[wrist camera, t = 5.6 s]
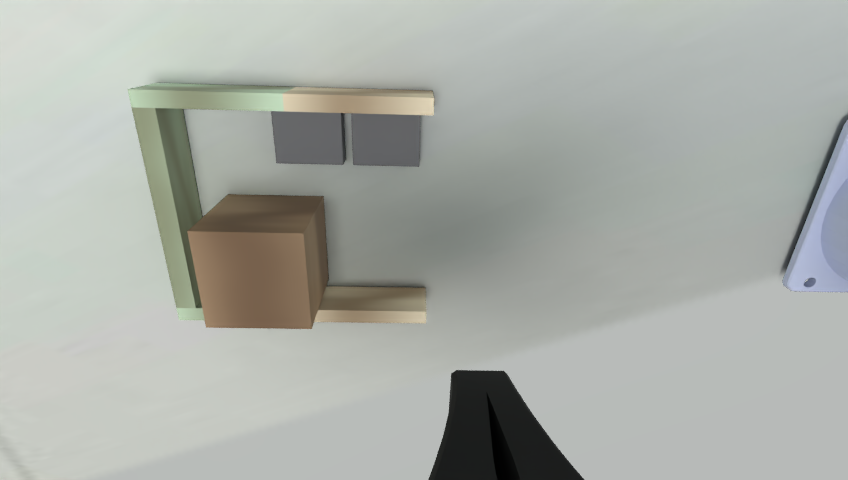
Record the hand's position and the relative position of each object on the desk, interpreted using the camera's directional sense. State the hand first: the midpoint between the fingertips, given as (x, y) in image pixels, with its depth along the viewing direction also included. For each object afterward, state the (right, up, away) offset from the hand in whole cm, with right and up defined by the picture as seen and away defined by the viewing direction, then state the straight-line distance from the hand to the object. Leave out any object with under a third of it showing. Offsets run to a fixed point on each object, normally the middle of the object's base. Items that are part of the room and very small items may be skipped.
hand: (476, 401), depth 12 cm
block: (-8, +4, +9) cm, 12 cm away
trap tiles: (-4, +8, +7) cm, 12 cm away
